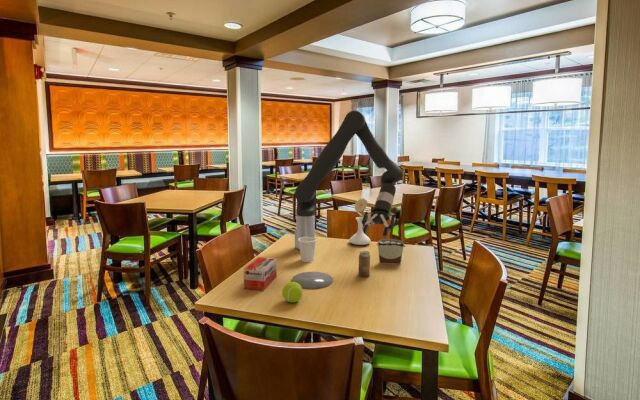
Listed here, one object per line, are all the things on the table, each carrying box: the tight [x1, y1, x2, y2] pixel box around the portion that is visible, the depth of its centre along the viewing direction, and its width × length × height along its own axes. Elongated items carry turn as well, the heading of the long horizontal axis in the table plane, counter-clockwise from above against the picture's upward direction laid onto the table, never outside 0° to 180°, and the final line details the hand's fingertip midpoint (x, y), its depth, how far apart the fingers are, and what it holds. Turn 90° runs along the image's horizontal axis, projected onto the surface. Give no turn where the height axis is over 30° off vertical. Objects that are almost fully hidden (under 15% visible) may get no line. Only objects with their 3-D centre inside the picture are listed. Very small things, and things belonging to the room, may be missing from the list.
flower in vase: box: [348, 197, 372, 246], centre depth 202 cm, size 13×11×25 cm
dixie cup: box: [298, 237, 317, 263], centre depth 177 cm, size 8×8×10 cm
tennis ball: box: [281, 281, 304, 303], centre depth 134 cm, size 7×7×7 cm
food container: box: [376, 238, 405, 265], centre depth 176 cm, size 12×6×10 cm, turn 84°
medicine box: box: [243, 256, 278, 292], centre depth 151 cm, size 15×8×8 cm, turn 167°
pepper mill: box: [357, 250, 371, 279], centre depth 158 cm, size 5×5×10 cm
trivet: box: [291, 271, 333, 290], centre depth 153 cm, size 16×16×1 cm
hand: (374, 234), depth 167 cm, fingers open, 8 cm apart
